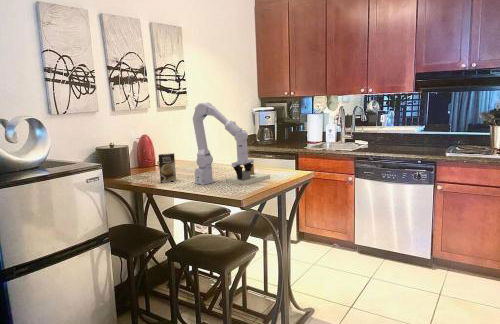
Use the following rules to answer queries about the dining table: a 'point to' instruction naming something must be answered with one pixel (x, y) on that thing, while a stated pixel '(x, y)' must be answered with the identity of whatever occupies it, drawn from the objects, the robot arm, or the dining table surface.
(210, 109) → the robot arm
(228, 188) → the dining table surface
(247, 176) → the grey chamfered cube
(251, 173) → the pin
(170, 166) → the coffee box
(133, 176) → the dining table surface
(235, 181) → the pin board
